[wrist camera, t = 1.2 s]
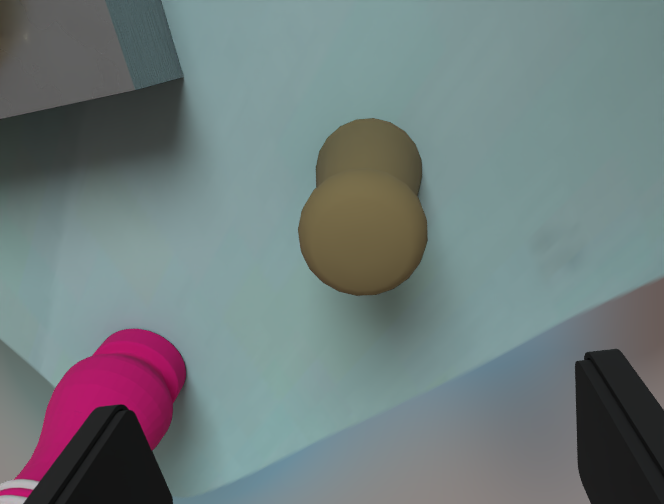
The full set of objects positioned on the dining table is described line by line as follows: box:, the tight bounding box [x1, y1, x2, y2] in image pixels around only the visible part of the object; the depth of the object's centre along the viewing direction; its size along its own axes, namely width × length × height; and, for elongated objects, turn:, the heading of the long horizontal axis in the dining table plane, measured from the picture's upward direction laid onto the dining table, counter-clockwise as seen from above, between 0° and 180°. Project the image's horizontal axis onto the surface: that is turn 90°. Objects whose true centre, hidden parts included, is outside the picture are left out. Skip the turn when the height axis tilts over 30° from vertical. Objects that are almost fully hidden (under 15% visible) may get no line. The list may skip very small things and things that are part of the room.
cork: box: [298, 118, 428, 296], centre depth 24 cm, size 6×6×11 cm
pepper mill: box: [0, 329, 186, 504], centre depth 27 cm, size 7×7×20 cm
